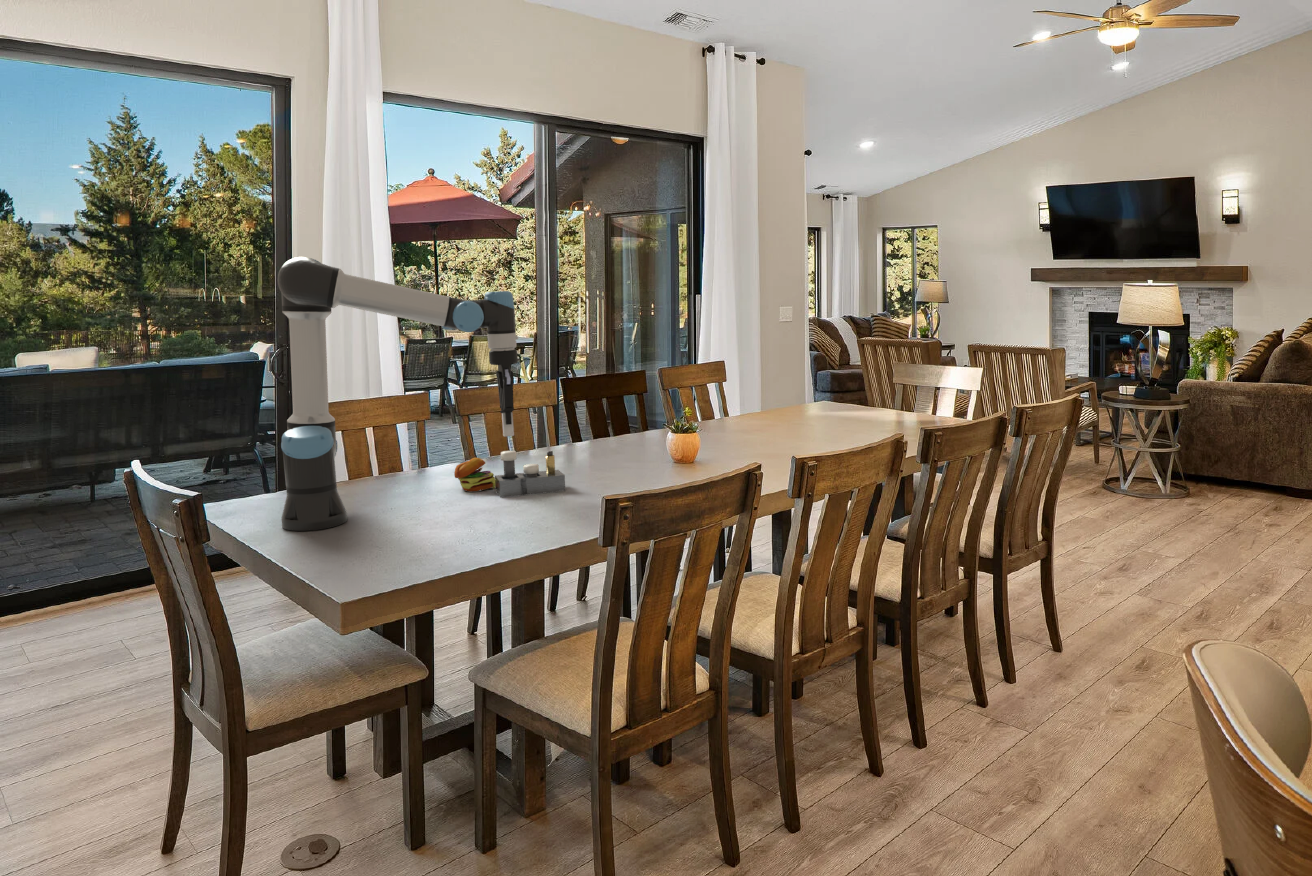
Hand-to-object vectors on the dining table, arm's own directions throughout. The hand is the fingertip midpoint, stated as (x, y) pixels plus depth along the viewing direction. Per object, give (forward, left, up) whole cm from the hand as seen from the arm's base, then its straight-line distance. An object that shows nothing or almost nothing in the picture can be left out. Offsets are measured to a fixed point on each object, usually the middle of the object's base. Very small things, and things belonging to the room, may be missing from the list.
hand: (508, 435), depth 251 cm
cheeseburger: (-8, +10, -16) cm, 21 cm away
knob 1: (0, 0, -11) cm, 11 cm away
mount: (+5, 0, -16) cm, 17 cm away
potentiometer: (+11, 0, -12) cm, 16 cm away
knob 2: (+6, 0, -16) cm, 17 cm away
